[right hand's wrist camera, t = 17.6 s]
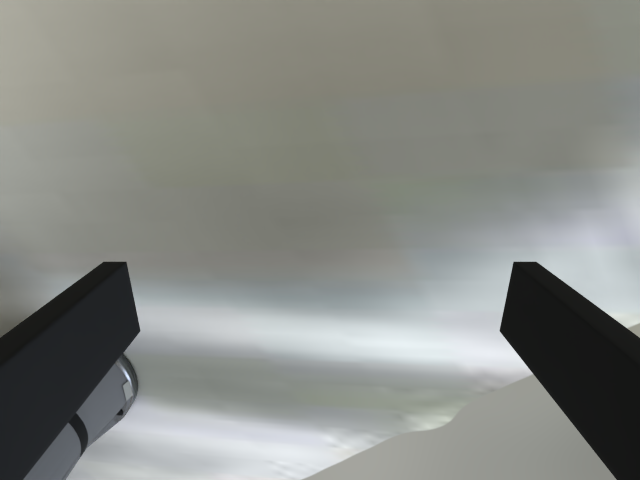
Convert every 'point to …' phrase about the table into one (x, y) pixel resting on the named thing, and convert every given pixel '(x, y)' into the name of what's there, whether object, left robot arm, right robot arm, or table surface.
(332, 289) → the table surface
